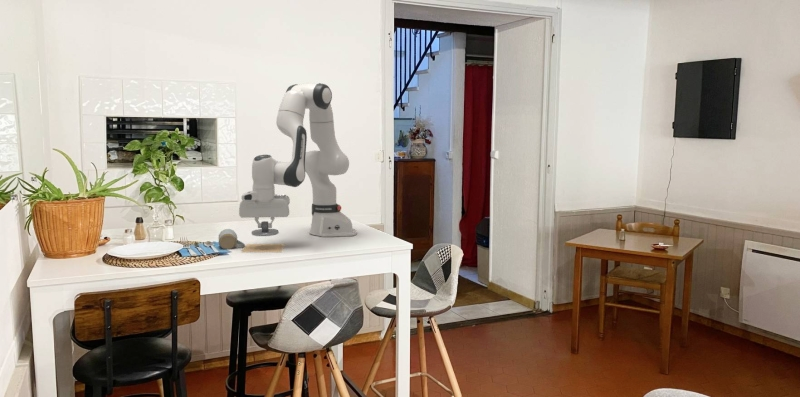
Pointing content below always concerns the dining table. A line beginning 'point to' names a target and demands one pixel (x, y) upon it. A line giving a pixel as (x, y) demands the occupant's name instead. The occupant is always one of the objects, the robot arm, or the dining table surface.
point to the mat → (263, 248)
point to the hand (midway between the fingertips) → (265, 227)
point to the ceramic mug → (229, 240)
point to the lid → (265, 230)
